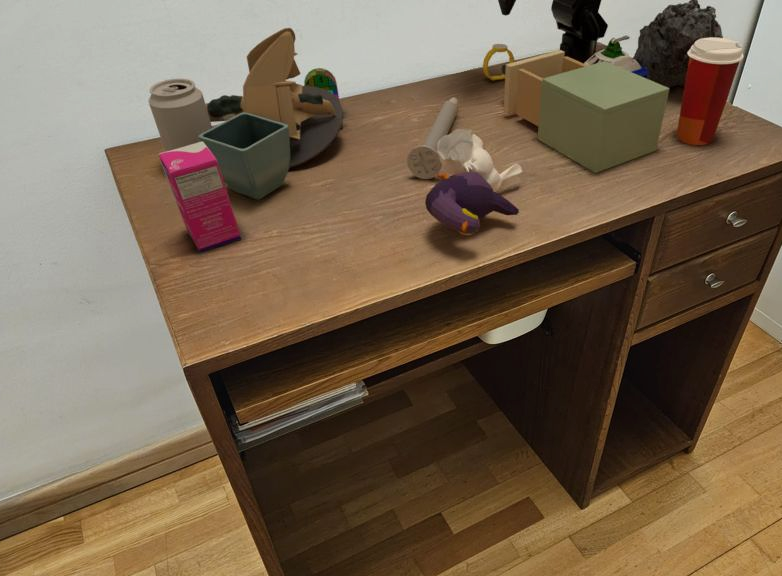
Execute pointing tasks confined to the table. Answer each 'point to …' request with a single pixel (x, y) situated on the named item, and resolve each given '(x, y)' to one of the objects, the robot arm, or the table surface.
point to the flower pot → (250, 153)
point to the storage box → (601, 115)
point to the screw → (432, 144)
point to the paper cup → (707, 88)
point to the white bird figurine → (471, 158)
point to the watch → (486, 60)
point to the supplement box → (200, 195)
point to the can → (179, 112)
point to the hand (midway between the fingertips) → (505, 14)
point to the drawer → (532, 82)
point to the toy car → (618, 58)
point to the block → (322, 81)
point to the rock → (674, 41)
